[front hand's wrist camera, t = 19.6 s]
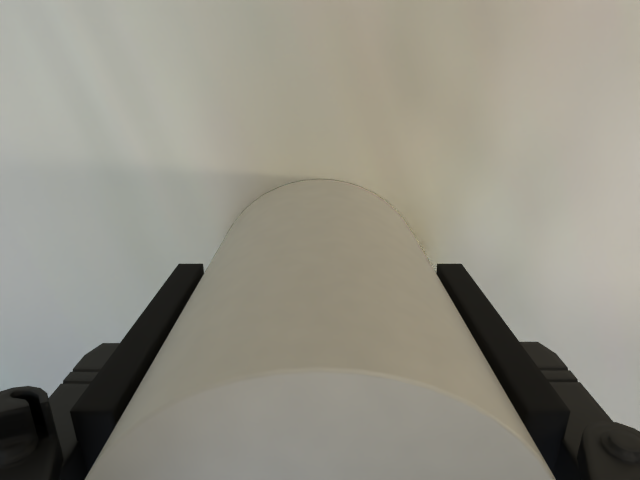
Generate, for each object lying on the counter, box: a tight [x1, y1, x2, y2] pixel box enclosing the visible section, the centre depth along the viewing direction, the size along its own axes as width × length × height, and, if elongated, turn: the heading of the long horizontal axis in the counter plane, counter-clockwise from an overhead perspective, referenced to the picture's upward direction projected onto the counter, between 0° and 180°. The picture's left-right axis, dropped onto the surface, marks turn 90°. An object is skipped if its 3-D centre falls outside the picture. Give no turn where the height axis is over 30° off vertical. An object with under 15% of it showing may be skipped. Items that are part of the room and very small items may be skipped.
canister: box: [85, 179, 556, 480], centre depth 11 cm, size 7×7×10 cm
